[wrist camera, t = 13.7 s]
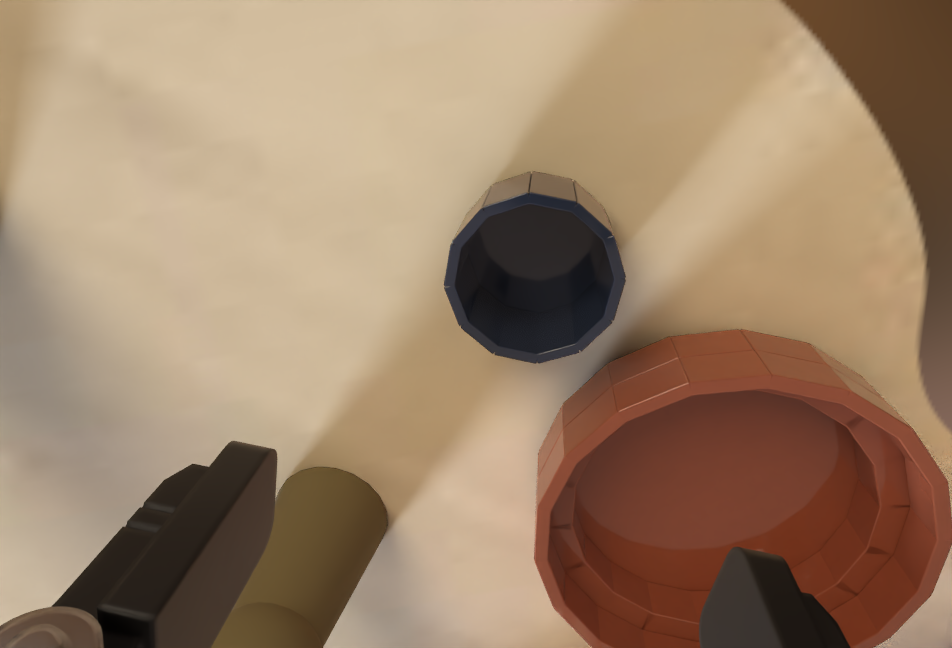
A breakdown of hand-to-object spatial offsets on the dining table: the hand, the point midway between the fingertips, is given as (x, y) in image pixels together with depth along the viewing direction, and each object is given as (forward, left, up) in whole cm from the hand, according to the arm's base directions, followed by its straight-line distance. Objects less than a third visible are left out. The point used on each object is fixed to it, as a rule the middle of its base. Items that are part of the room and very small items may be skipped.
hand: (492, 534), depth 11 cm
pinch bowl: (0, +1, -17) cm, 17 cm away
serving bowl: (+14, -3, -17) cm, 22 cm away
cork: (+2, -18, -17) cm, 25 cm away
